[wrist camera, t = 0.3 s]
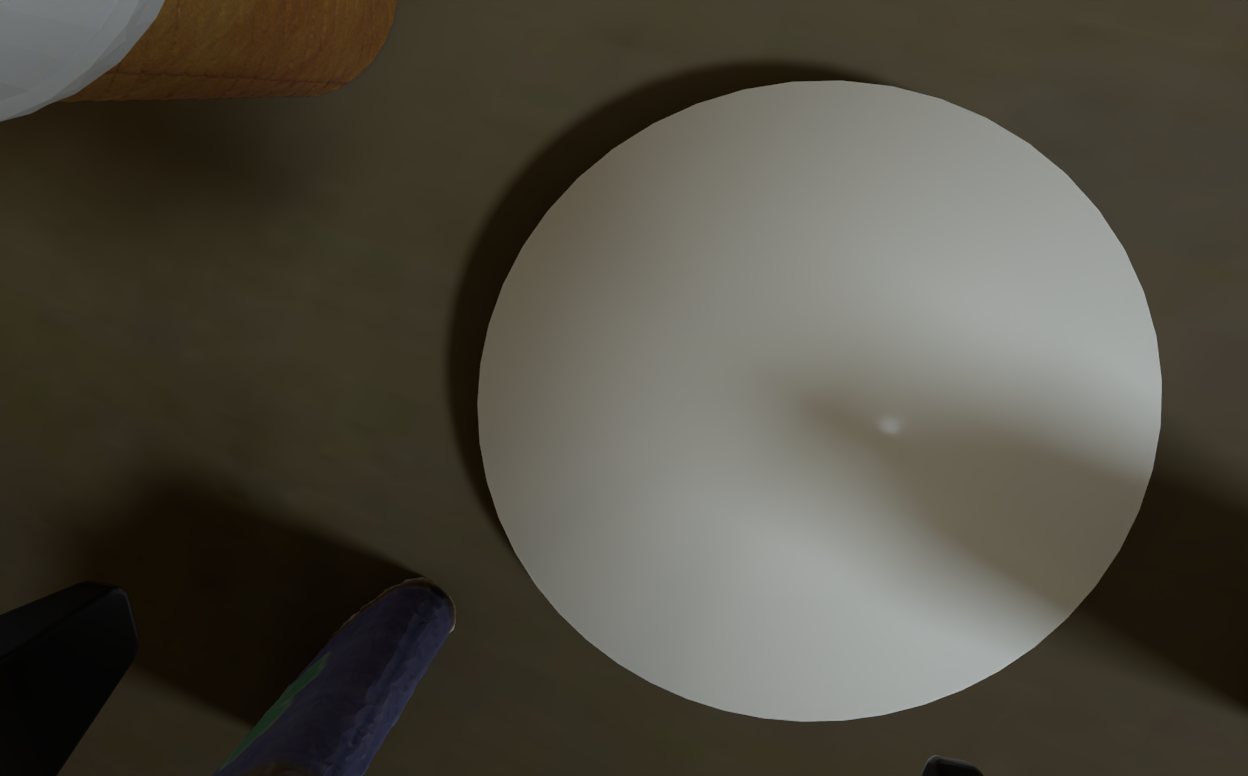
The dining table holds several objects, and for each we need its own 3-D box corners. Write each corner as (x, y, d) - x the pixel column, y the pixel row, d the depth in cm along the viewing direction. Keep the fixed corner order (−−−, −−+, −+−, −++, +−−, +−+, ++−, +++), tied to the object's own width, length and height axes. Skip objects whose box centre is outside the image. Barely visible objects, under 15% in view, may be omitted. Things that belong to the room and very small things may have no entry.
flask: (317, 766, 28) (75, 1101, 18) (256, 713, 28) (-25, 1021, 17) (476, 612, 25) (303, 898, 15) (411, 553, 25) (189, 801, 15)
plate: (699, 773, 26) (697, 808, 24) (378, 326, 23) (354, 335, 22) (1249, 520, 21) (1287, 544, 20) (923, -66, 19) (938, -87, 17)
